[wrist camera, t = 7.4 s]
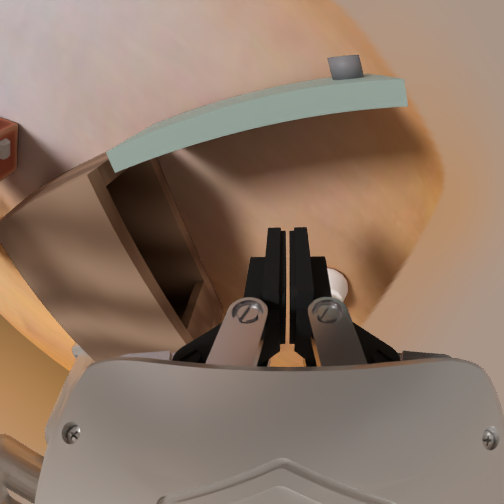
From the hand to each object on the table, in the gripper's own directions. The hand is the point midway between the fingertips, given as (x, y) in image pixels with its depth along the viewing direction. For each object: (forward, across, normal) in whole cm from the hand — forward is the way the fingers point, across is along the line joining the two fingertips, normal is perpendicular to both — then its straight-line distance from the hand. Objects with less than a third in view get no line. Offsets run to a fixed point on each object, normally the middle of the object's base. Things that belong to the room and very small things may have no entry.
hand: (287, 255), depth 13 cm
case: (+9, +15, +6) cm, 18 cm away
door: (+8, +2, -7) cm, 10 cm away
